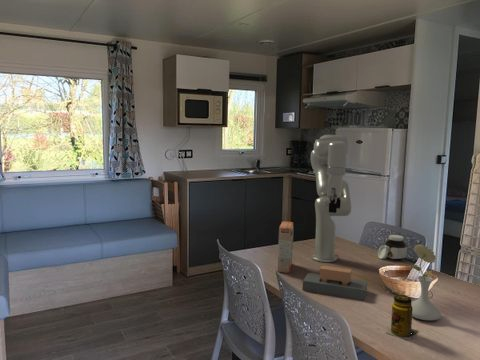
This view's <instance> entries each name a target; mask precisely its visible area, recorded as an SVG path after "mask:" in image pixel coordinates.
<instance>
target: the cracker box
mask: <svg viewBox="0 0 480 360" xmlns="http://www.w3.org/2000/svg"><path fill="white" fill-rule="evenodd" d="M293 246H294V222H292V221H281V224H280V225H279V229H278V251H277V273H283V274H285V273H286V274H290V272H291V270H292V269H291V268H292V265H293V249H294V247H293Z"/></svg>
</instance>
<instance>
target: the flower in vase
mask: <svg viewBox="0 0 480 360" xmlns="http://www.w3.org/2000/svg"><path fill="white" fill-rule="evenodd" d="M413 251H414V252H415V254H416V255H417V257H418V258H420V262H419V266H418V265H416V264H414V265H412V267H411V268H412V269H414V270H416V271H417V272H420V273H421V274H422V275H420V276H417V279H418V281H419V283H420V296H419V298H418V299H416V300H414V301H412V302H411V303H412V305H411V306H412V308H413V310H412V318H416V319H418V320H423V321H436V320H439V319H440V318H441V317H442V313H441V311H440V309H439V308H438V307H437V306H436V305H435V304H434V303H432V302H431V301H430V299H429V289H430V285H431V283H432V282H433V281H434V278H432V277H431V276H427V275H429V274H431V273H432V272H433V270H428V271H426V272H424V273H423V270H422V267H421V266H422V262H423V261H424V262H425V263H427V264H433V263H436V260H437V259H436V255H435V252H434V251H433V250H432V249H430V248H429V247H428V246H427V245H425V246H424V244H416V245H414V249H413ZM425 275H426V276H425Z"/></svg>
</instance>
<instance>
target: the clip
mask: <svg viewBox="0 0 480 360" xmlns="http://www.w3.org/2000/svg"><path fill="white" fill-rule="evenodd" d="M352 271H353V270H352V269H350V268H342V267H336V266H328V265H321V266H320V268H319V274H320V276H319V278H322V282H327V283H328V281H329V280H336V281H342V285H347V286H348V282H350V281H351V279H352Z"/></svg>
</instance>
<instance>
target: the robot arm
mask: <svg viewBox="0 0 480 360" xmlns="http://www.w3.org/2000/svg"><path fill="white" fill-rule="evenodd" d="M348 151H349V140H348V137H347V136H346V135H344V134H324V135H322V136H320V137H319V138H317V139H315V141H314V143H313V150H311V152H310V164H311V167H312V170H313V172H314V175H315V183H316V185H315V186H316V192H317V195H318V196H319V197H318V198H316V199H315V202H314V208H315V209H314V210H315V241H314V242H315V245H314V247H315V249H314V253H313V254H312V255H311V259H312V260H314V261H317V262H320V263H333V262H337V260H338V256H337V255H336V254H335V249H336V247H335V246H336V223H335V221H334V220H333V218H332V217H348V216H350V215H351V212H352V202H351V193H350V187H349V183H348V182H347V181H346V180H344V179H343V176H346V165H347V154H348ZM326 165H327V166H326Z"/></svg>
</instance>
